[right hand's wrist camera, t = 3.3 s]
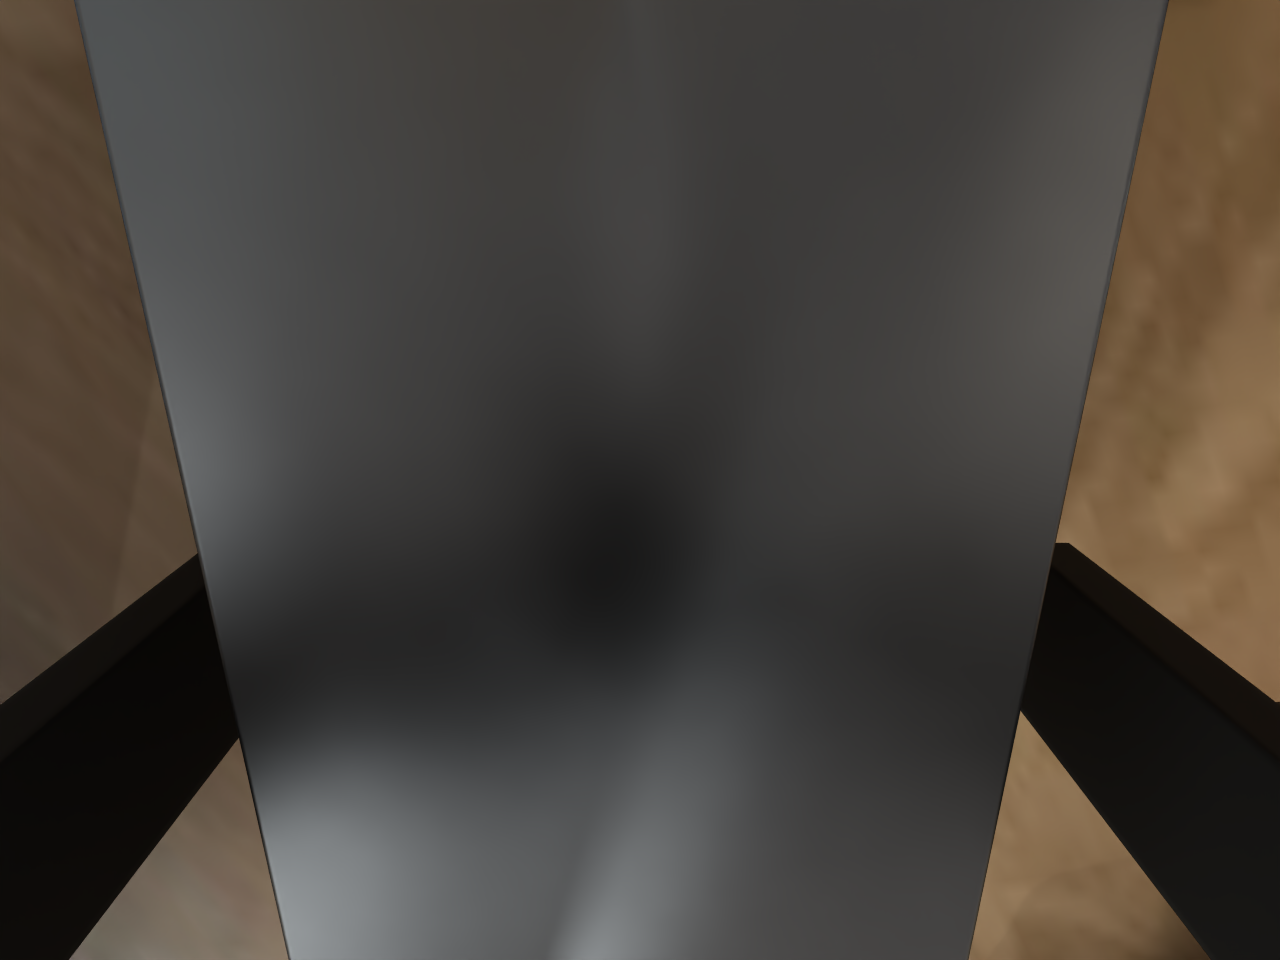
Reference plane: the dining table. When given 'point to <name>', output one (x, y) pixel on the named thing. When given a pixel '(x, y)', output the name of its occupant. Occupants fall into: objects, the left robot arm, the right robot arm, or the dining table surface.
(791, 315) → the box
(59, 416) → the dining table surface
